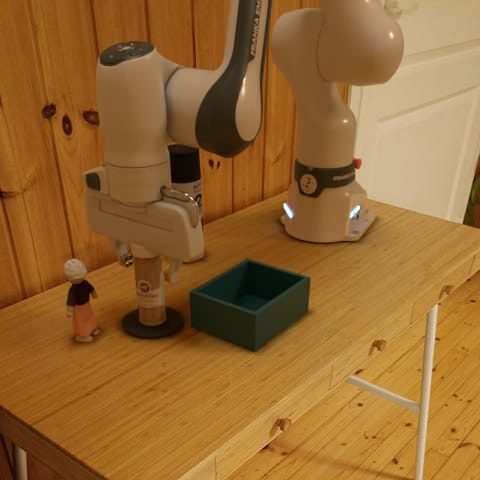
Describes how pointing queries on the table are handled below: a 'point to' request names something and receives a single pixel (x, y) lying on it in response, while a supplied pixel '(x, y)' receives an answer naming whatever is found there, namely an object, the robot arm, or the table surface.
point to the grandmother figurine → (80, 301)
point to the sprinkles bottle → (149, 286)
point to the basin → (249, 303)
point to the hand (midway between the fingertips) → (148, 273)
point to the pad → (153, 332)
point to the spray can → (187, 174)
